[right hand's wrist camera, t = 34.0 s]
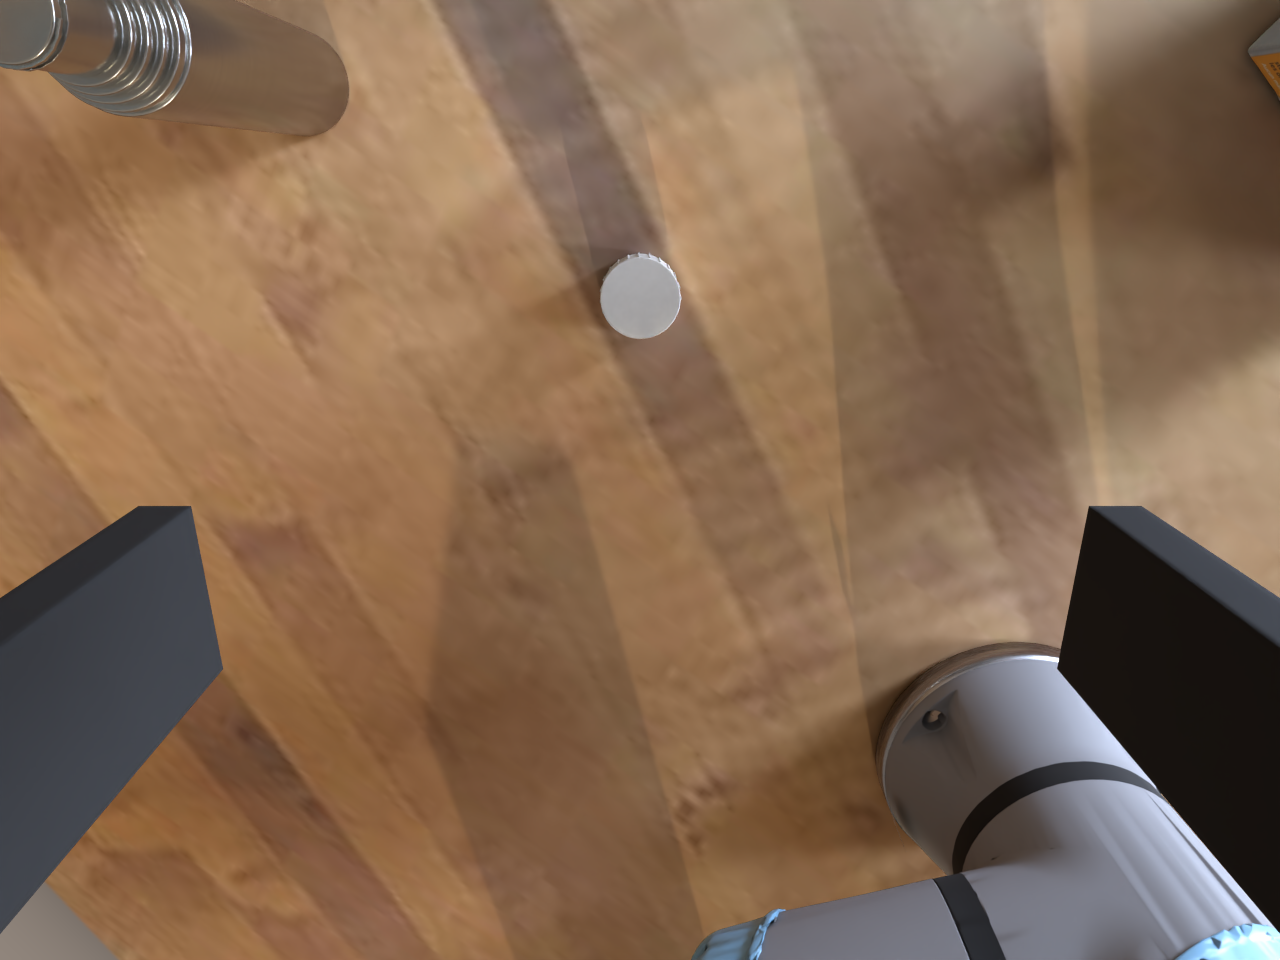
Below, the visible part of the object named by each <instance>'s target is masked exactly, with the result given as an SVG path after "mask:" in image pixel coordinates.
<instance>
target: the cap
mask: <svg viewBox="0 0 1280 960" xmlns="http://www.w3.org/2000/svg"><path fill="white" fill-rule="evenodd" d="M603 281H604V282H603V285H602V286H601V289H600V292H601V295H600V303H601V308H602V311H603V312H602V313H603V314H604V316H605V318H606V320H607V321H608V323H609V324H610V325H611V326H612V327H613V328H614V329H615V330H616V331H618V332H619V333H621V334H623V335H625V336H627V337H631V338H636V339H645V338H650V337H654V336H656V335H658V334H660V333H662V332H663V331H665V330H666V329H667V328H668V327H669V326H670V325H671V324H672V322H673V321H674V320H675V318H676V316H677V313H678V311H679V307H680V300H681V296H680V290H679V289H680V285H679V283H677V280H676V275H675V272H674V273H673V271H672V270H671V269H670V267H669V264H666V263H665V262H663V261H662V260H661V259H660V257H659V258H657V257H655V256H652V255H650V253H649V254H640V253H639V252H638V254H632V255H629V254H628V255H627V256H626V257H624V258H622V259H620V260H619V259H618V260H617V262H616V263H615V264H614V265H613V266H612V267H611V266H610V268H609V271H608V273H607V275H606V276H604V278H603Z"/></svg>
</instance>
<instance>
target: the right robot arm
mask: <svg viewBox="0 0 1280 960" xmlns="http://www.w3.org/2000/svg"><path fill="white" fill-rule="evenodd" d="M222 670H223V666H222V661H221V656H220V651H219V646H218V641H217V636H216V631H215V626H214V621H213V615H212V610H211V605H210V600H209V595H208V590H207V585H206V580H205V575H204V570H203V565H202V560H201V555H200V549H199V544H198V539H197V534H196V529H195V524H194V519H193V514H192V509H191V506H138V507H137V508H135V509H134V510H132V511H131V512H129V513H128V514H126V515H125V516H123V517H122V518H120V519H119V520H117V521H116V522H114V523H113V524H111V525H110V526H108V527H107V528H105V529H103V530H102V531H100V532H99V533H97V534H96V535H94V536H93V537H91V538H90V539H88V540H87V541H85V542H84V543H82V544H81V545H79V546H78V547H76V548H75V549H73V550H72V551H70V552H69V553H67V554H66V555H64V556H63V557H61V558H60V559H58V560H57V561H55V562H54V563H52V564H51V565H49V566H48V567H46V568H45V569H43V570H42V571H40V572H39V573H37V574H36V575H34V576H33V577H31V578H30V579H28V580H27V581H25V582H24V583H22V584H21V585H19V586H18V587H16V588H15V589H13V590H12V591H10V592H9V593H7V594H6V595H4V596H3V597H1V598H0V933H1V932H2V931H3V930H4V929H5V928H6V926H7V925H8V924H9V923H10V922H11V920H12V919H13V918H14V917H15V916H16V914H17V913H18V912H19V911H20V910H21V908H22V907H23V906H24V905H25V904H26V903H27V901H28V900H29V899H30V898H31V897H32V895H33V894H34V893H35V892H36V891H37V890H38V888H39V887H40V886H41V885H42V884H43V882H44V881H45V880H46V879H47V878H48V876H49V875H50V874H51V873H52V872H53V870H54V869H55V868H56V867H57V866H58V865H59V863H60V862H61V861H62V860H63V859H64V857H65V856H66V855H67V854H68V853H69V851H70V850H71V849H72V848H73V847H74V846H75V844H76V843H77V842H78V841H79V840H80V838H81V837H82V836H83V835H84V834H85V832H86V831H87V830H88V829H89V828H90V826H91V825H92V824H93V823H94V822H95V821H96V819H97V818H98V817H99V816H100V815H101V813H102V812H103V811H104V810H105V809H106V807H107V806H108V805H109V804H110V803H111V802H112V800H113V799H114V798H115V797H116V796H117V794H118V793H119V792H120V791H121V790H122V788H123V787H124V786H125V785H126V784H127V782H128V781H129V780H130V779H131V778H132V777H133V775H134V774H135V773H136V772H137V771H138V769H139V768H140V767H141V766H142V765H143V763H144V762H145V761H146V760H147V759H148V758H149V756H150V755H151V754H152V753H153V752H154V750H155V749H156V748H157V747H158V746H159V744H160V743H161V742H162V741H163V740H164V738H165V737H166V736H167V735H168V734H169V733H170V731H171V730H172V729H173V728H174V727H175V725H176V724H177V723H178V722H179V721H180V719H181V718H182V717H183V716H184V715H185V714H186V712H187V711H188V710H189V709H190V708H191V706H192V705H193V704H194V703H195V702H196V700H197V699H198V698H199V697H200V696H201V694H202V693H203V692H204V691H205V690H206V689H207V687H208V686H209V685H210V684H211V683H212V681H213V680H214V679H215V678H216V677H217V675H218V674H219V673H220V672H221V671H222ZM876 768H877V775H878V779H879V782H880V785H881V788H882V790H883V793H884V795H885V798H886V800H887V804H888V805H889V808H890V812H891V813H892V814H893V816H894V818H895V820H896V821H897V823H898V824H899V825H900V827H901V828H902V829H903V830H904V831H905V833H906V834H907V835H908V836H909V837H911V839H912V840H913V841H914V842H915V843H916V844H917V845H918V846H919V847H920V848H921V849H922V850H923V851H924V852H925V853H926V854H927V855H928V856H929V857H930V858H931V859H932V860H933V861H934V862H935V863H936V864H937V865H938V866H939V867H940V868H941V869H942V870H943V871H944V872H945V873H946V874H947V876H944V877H940V878H935V879H928V880H924V881H919V882H915V883H911V884H906V885H902V886H898V887H893V888H889V889H885V890H880V891H876V892H871V893H867V894H863V895H858V896H854V897H849V898H844V899H840V900H835V901H830V902H825V903H820V904H816V905H811V906H806V907H801V908H796V909H792V910H787V911H786V910H782V909H774V910H772V911H771V912H769V913H768V914H767V915H765V916H764V917H762V918H759V919H755V920H752V921H749V922H746V923H742V924H738V925H735V926H731V927H727V928H724V929H721V930H718V931H715V932H714V933H712V934H710V935H709V936H707V937H706V938H705V939H704V940H703V941H702V942H701V943H700V945H699V946H698V947H697V949H696V951H695V953H694V955H693V956H692V959H691V960H1280V598H1279V597H1277V596H1276V595H1274V594H1273V593H1271V592H1270V591H1268V590H1267V589H1265V588H1264V587H1262V586H1261V585H1259V584H1258V583H1256V582H1255V581H1253V580H1252V579H1250V578H1249V577H1247V576H1246V575H1244V574H1243V573H1241V572H1240V571H1238V570H1237V569H1235V568H1234V567H1232V566H1231V565H1229V564H1228V563H1226V562H1225V561H1223V560H1222V559H1220V558H1219V557H1217V556H1216V555H1214V554H1213V553H1211V552H1210V551H1208V550H1207V549H1205V548H1204V547H1202V546H1201V545H1199V544H1198V543H1196V542H1195V541H1193V540H1192V539H1190V538H1189V537H1187V536H1186V535H1184V534H1183V533H1181V532H1180V531H1178V530H1177V529H1175V528H1173V527H1172V526H1170V525H1169V524H1167V523H1166V522H1164V521H1163V520H1161V519H1160V518H1158V517H1157V516H1155V515H1154V514H1152V513H1151V512H1149V511H1148V510H1146V509H1145V508H1143V507H1142V506H1089V509H1088V514H1087V519H1086V524H1085V529H1084V534H1083V539H1082V544H1081V549H1080V554H1079V560H1078V565H1077V570H1076V575H1075V580H1074V585H1073V590H1072V595H1071V600H1070V605H1069V610H1068V615H1067V621H1066V626H1065V631H1064V636H1063V641H1062V646H1061V649H1058V648H1054V647H1051V646H1047V645H1041V644H1036V643H1024V642H1010V643H999V644H992V645H987V646H982V647H978V648H974V649H971V650H968V651H965V652H962V653H960V654H957V655H955V656H953V657H950V658H948V659H946V660H944V661H943V662H941V663H939V664H937V665H936V666H934V667H932V668H931V669H929V670H928V671H926V672H925V673H924V674H923V675H921V676H920V677H919V678H917V679H916V680H915V681H914V682H913V683H912V684H911V685H910V686H909V687H908V688H907V689H906V690H905V691H904V692H903V693H902V694H901V695H900V697H899V698H898V699H897V701H896V702H895V703H894V705H893V706H892V708H891V710H890V711H889V713H888V715H887V717H886V719H885V721H884V723H883V725H882V728H881V731H880V734H879V738H878V742H877V749H876ZM1160 793H1161V794H1163V796H1164V797H1165V798H1166V799H1167V800H1168V802H1169V803H1170V804H1171V805H1172V806H1173V807H1174V809H1175V810H1176V811H1177V812H1178V813H1179V815H1180V816H1181V817H1182V818H1183V819H1184V821H1185V822H1186V823H1187V824H1188V825H1189V826H1190V828H1191V829H1192V830H1193V831H1194V832H1195V834H1196V835H1197V836H1198V837H1199V838H1200V840H1201V841H1202V842H1203V843H1204V844H1205V846H1206V847H1207V848H1208V849H1209V850H1210V851H1211V853H1212V854H1213V855H1214V856H1215V857H1216V858H1215V857H1214V856H1213V855H1212V854H1211V853H1210V851H1209V850H1208V849H1207V848H1206V847H1205V846H1204V844H1203V843H1202V842H1201V841H1200V840H1199V839H1198V837H1197V836H1196V835H1195V834H1194V833H1193V832H1192V830H1191V829H1190V828H1189V827H1188V826H1187V825H1186V823H1185V822H1184V821H1183V820H1182V819H1181V817H1180V816H1179V815H1178V814H1177V813H1176V812H1175V810H1174V809H1173V808H1172V807H1171V806H1170V805H1169V804H1168V802H1167V801H1166V800H1165V799H1164V798H1163V796H1162V795H1161V794H1160ZM893 816H892V817H893ZM893 820H894V819H893ZM894 822H895V821H894ZM895 825H896V824H895ZM897 830H898V829H897ZM898 833H899V832H898ZM900 838H901V837H900ZM901 841H902V840H901ZM903 846H904V845H903ZM1216 859H1217V860H1218V861H1219V862H1220V863H1221V864H1220V863H1219V862H1218V861H1217V860H1216ZM1222 866H1223V867H1224V868H1225V869H1226V870H1227V871H1226V870H1225V869H1224V868H1223V867H1222ZM1228 873H1229V874H1230V875H1231V876H1232V877H1231V876H1230V875H1229V874H1228ZM1234 880H1235V881H1236V882H1237V883H1236V882H1235V881H1234ZM1240 887H1241V888H1242V889H1241V888H1240ZM1245 893H1246V894H1247V895H1248V896H1247V895H1246V894H1245ZM1251 900H1252V901H1253V902H1252V901H1251ZM1257 907H1258V908H1257ZM1263 914H1264V915H1263Z"/></svg>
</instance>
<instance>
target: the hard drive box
mask: <svg viewBox="0 0 1280 960" xmlns="http://www.w3.org/2000/svg"><path fill="white" fill-rule="evenodd" d="M1248 53H1249V55H1250V57H1251V58H1252V60H1253V61H1254V62H1255V64H1256V65H1257V66H1258V68H1259V69H1260V71H1261V72H1262V73H1263V75H1264V76H1265V78H1266V79H1267V80H1268V82H1269V83H1270V85H1271V86H1272V88H1273V89H1274V90H1275V92H1276V94H1277V96H1278V98H1279V101H1280V18H1279V19H1278V20H1277V21H1276V22H1275V23H1274V24H1273V25H1272V26H1271V27H1270V28H1268V29H1267V30H1266V31H1265V32H1264V33H1263V34H1262V35H1261V36H1260V37H1259V38H1258V39H1257V40H1256V41H1255V42H1254V43H1253V44H1252V45H1251V46H1250V47H1249V49H1248Z"/></svg>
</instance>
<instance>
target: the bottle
mask: <svg viewBox="0 0 1280 960" xmlns="http://www.w3.org/2000/svg"><path fill="white" fill-rule="evenodd" d="M0 66H1V67H3V68H7V69H13V70H21V71H34V70H41V71H47V72H48V73H49V74H50V75H51V76H53V77H54V78H55V79H56V80H57V81H58V82H59V83H60V84H61V85H62V86H63V87H64V88H66V89H67V90H68V91H69V92H70V93H71V94H73V95H74V96H75V97H77V98H78V99H80V100H82V101H83V102H85V103H87V104H89V105H91V106H94V107H96V108H98V109H100V110H102V111H105V112H107V113H111V114H114V115H119V116H125V117H134V118H143V119H152V120H161V121H171V122H180V123H189V124H198V125H207V126H216V127H225V128H234V129H243V130H253V131H262V132H271V133H280V134H289V135H298V136H314V135H318V134H321V133H323V132H326V131H327V130H329V129H331V128H332V127H333V126H334V125H335V124H336V123H337V122H338V121H339V120H340V118H341V117H342V115H343V113H344V111H345V109H346V106H347V102H348V96H349V84H348V77H347V73H346V70H345V67H344V65H343V63H342V61H341V59H340V57H339V56H338V54H337V53H336V52H335V50H334V49H333V48H332V47H331V46H330V45H329V44H328V43H327V42H326V41H325V40H323V39H322V38H320V37H319V36H317V35H315V34H313V33H311V32H309V31H306V30H304V29H302V28H299V27H297V26H295V25H292V24H290V23H287V22H285V21H283V20H280V19H278V18H276V17H273V16H271V15H269V14H266V13H264V12H262V11H259V10H257V9H255V8H252V7H250V6H248V5H245V4H243V3H241V2H238V1H236V0H0Z"/></svg>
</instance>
